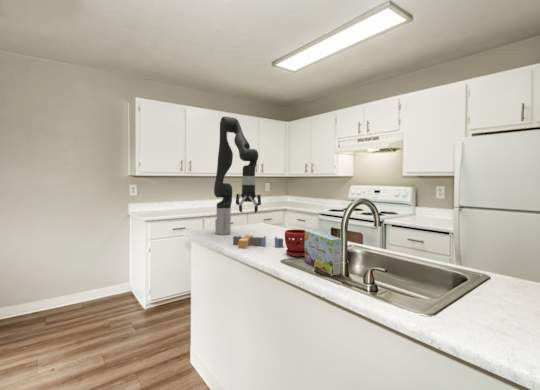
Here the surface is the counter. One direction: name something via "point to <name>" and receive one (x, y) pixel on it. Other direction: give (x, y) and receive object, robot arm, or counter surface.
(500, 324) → the counter surface
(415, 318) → the counter surface
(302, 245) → the plant pot
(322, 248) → the snack box
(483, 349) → the counter surface
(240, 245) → the banded orange pillar
